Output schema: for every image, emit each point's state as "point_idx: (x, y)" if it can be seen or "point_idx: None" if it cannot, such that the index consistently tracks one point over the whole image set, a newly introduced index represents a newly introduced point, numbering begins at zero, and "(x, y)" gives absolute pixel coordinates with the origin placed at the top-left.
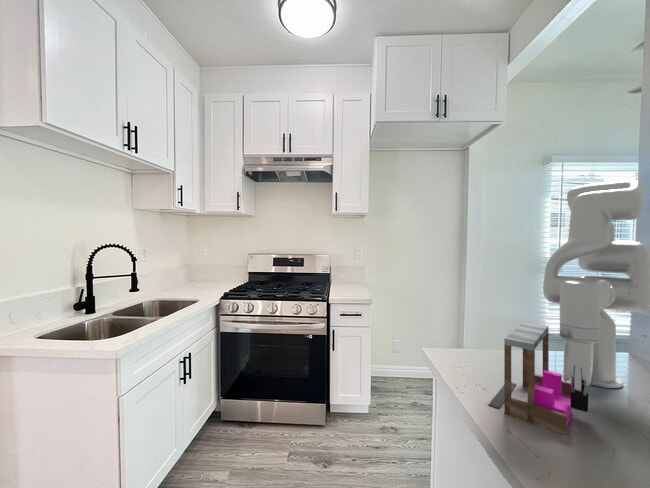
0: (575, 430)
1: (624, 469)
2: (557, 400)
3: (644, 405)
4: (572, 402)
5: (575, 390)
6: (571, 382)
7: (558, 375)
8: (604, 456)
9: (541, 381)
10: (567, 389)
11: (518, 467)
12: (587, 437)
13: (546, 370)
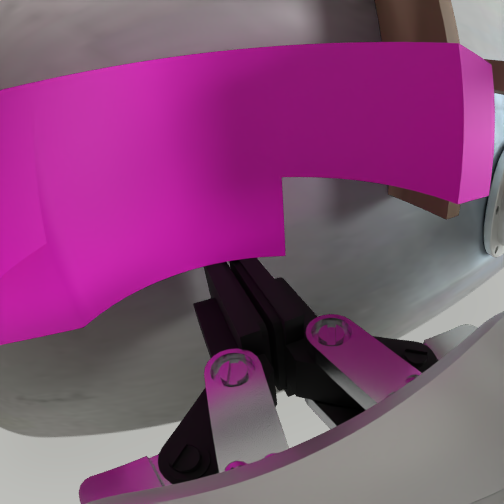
0: None
1: (18, 418)
2: (208, 182)
3: (434, 316)
4: (214, 289)
5: (184, 426)
6: (219, 467)
7: (465, 182)
8: (14, 391)
9: None
10: None
11: None
12: (58, 343)
13: (491, 79)
